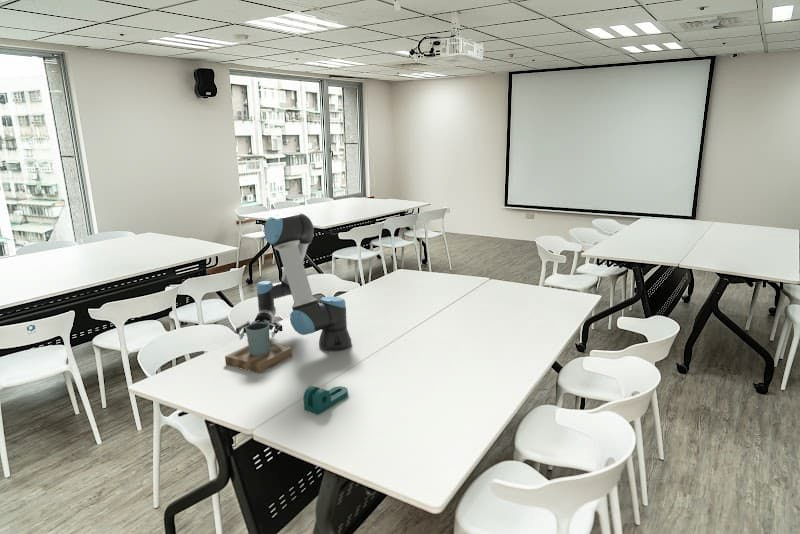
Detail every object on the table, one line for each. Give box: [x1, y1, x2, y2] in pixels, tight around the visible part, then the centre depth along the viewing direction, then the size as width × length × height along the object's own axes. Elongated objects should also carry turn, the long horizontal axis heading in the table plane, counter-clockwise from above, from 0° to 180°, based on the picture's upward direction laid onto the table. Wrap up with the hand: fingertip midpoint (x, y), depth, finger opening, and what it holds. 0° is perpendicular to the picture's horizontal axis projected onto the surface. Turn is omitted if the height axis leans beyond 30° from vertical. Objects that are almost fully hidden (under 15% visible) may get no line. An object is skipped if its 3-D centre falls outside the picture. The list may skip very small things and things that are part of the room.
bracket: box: [303, 385, 349, 416], centre depth 183 cm, size 18×7×8 cm, turn 145°
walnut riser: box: [224, 342, 293, 374], centre depth 221 cm, size 20×20×4 cm
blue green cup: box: [245, 322, 271, 356], centre depth 220 cm, size 10×10×12 cm
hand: (256, 335), depth 218 cm, fingers open, 13 cm apart
